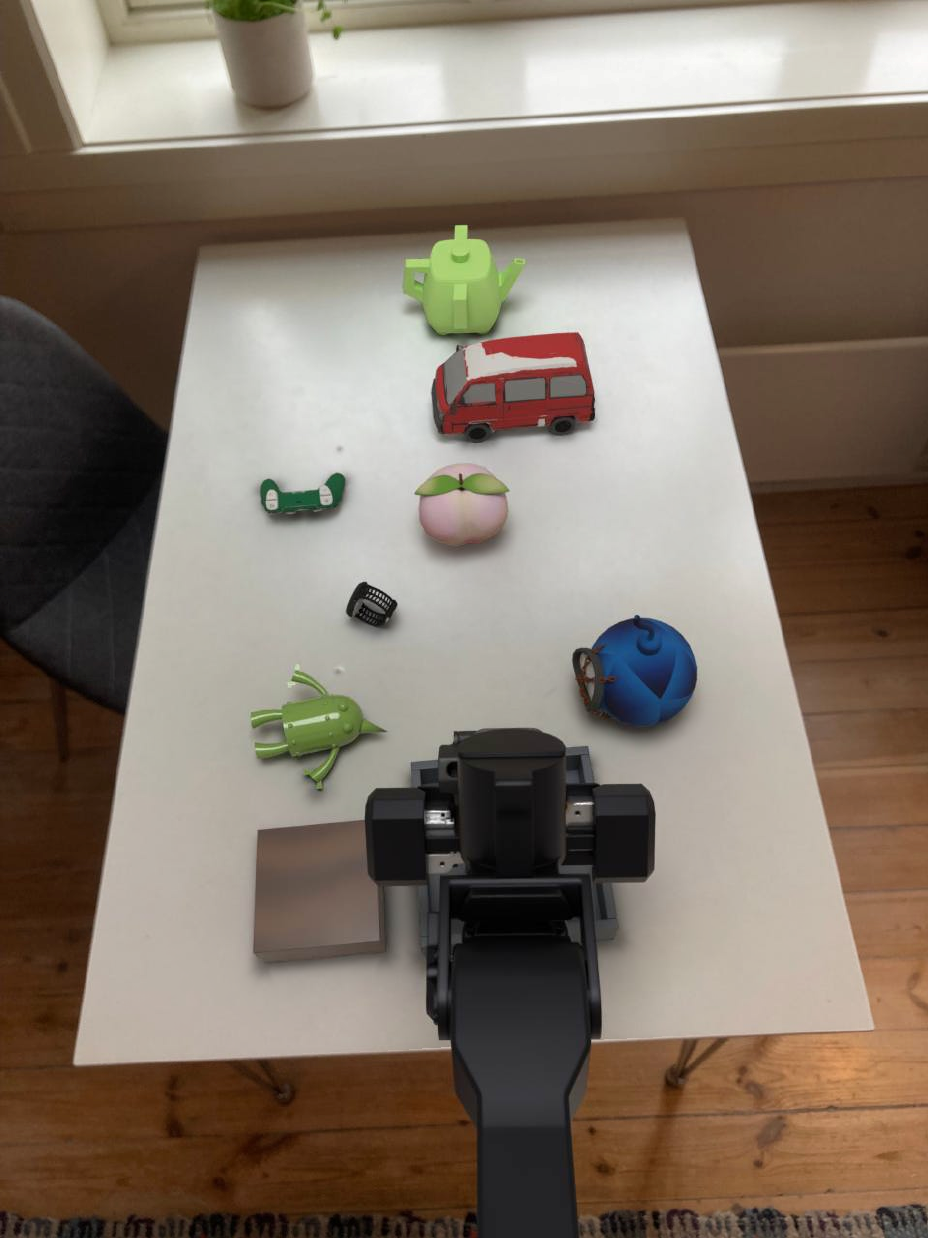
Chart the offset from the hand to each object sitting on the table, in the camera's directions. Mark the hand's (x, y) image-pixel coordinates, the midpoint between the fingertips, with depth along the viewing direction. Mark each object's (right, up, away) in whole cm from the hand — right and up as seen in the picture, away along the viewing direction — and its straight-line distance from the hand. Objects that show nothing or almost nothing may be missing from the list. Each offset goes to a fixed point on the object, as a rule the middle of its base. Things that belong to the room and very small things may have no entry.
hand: (506, 784), depth 68 cm
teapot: (-3, +51, +47) cm, 69 cm away
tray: (+1, -8, +11) cm, 13 cm away
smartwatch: (-12, +12, +24) cm, 29 cm away
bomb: (+12, +5, +18) cm, 23 cm away
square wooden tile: (-15, -11, +9) cm, 21 cm away
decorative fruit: (-3, +21, +29) cm, 36 cm away
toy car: (+2, +36, +38) cm, 52 cm away
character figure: (-16, +1, +17) cm, 24 cm away
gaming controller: (-21, +25, +32) cm, 46 cm away
